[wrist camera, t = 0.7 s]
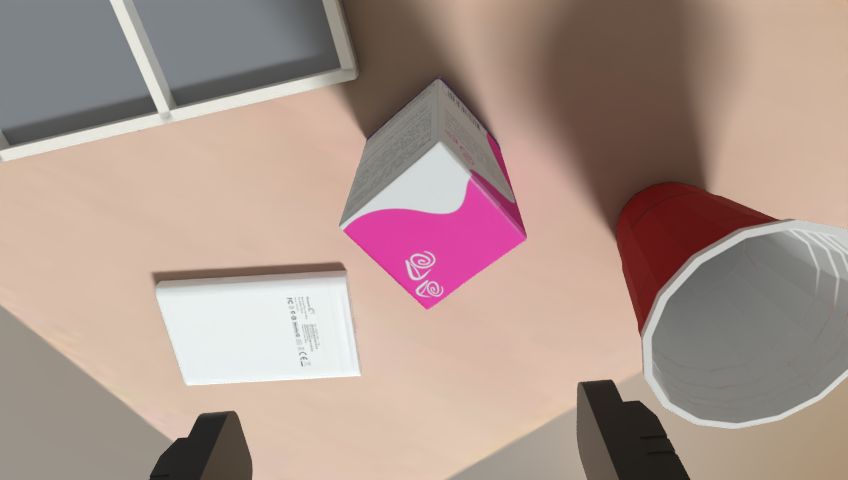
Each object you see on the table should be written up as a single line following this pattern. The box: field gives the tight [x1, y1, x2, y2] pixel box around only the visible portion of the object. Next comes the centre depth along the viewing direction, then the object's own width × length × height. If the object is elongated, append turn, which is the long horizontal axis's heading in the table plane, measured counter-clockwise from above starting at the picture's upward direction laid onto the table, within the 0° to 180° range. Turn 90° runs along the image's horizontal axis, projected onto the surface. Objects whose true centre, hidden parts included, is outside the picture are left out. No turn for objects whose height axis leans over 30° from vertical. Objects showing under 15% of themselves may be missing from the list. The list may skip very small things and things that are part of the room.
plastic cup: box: [617, 182, 848, 429], centre depth 30 cm, size 11×11×12 cm
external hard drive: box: [155, 270, 362, 385], centre depth 39 cm, size 2×8×12 cm
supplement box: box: [339, 76, 527, 310], centre depth 28 cm, size 6×6×12 cm
